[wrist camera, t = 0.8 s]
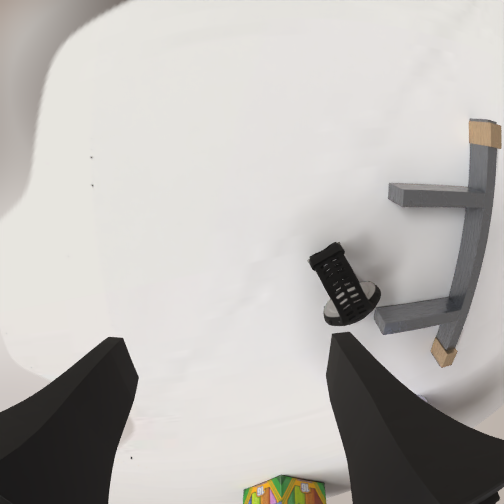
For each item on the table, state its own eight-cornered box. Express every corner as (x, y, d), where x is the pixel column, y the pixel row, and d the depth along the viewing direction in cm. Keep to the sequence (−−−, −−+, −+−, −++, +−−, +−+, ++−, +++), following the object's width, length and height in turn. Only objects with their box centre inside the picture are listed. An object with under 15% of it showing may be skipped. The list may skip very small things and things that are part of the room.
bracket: (439, 350, 22) (450, 366, 19) (363, 365, 22) (371, 385, 20) (479, 121, 14) (500, 122, 12) (388, 103, 14) (406, 100, 12)
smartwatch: (306, 300, 19) (320, 348, 15) (298, 228, 17) (313, 263, 13) (364, 288, 19) (391, 332, 14) (362, 217, 17) (396, 247, 12)
